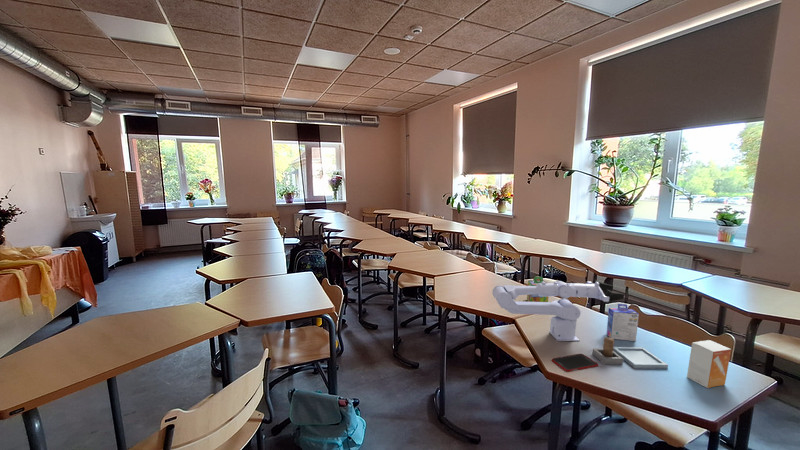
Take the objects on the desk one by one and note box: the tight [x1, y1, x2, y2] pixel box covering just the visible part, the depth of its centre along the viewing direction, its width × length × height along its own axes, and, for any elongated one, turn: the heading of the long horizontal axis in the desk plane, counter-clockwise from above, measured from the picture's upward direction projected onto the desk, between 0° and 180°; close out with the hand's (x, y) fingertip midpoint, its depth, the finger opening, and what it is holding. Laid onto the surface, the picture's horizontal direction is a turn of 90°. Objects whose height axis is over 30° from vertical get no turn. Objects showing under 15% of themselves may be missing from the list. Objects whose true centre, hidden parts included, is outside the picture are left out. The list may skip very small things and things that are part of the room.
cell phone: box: [551, 353, 599, 373], centre depth 116 cm, size 8×15×1 cm, turn 106°
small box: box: [686, 339, 732, 389], centre depth 105 cm, size 8×6×13 cm
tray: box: [613, 346, 669, 370], centre depth 119 cm, size 12×12×2 cm
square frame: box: [592, 347, 624, 365], centre depth 119 cm, size 7×7×2 cm
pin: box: [602, 336, 615, 357], centre depth 119 cm, size 3×3×8 cm
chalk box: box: [526, 276, 549, 302], centre depth 173 cm, size 9×9×15 cm
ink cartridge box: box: [606, 303, 640, 342], centre depth 135 cm, size 10×6×14 cm, turn 78°
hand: (617, 292), depth 132 cm, fingers open, 7 cm apart
